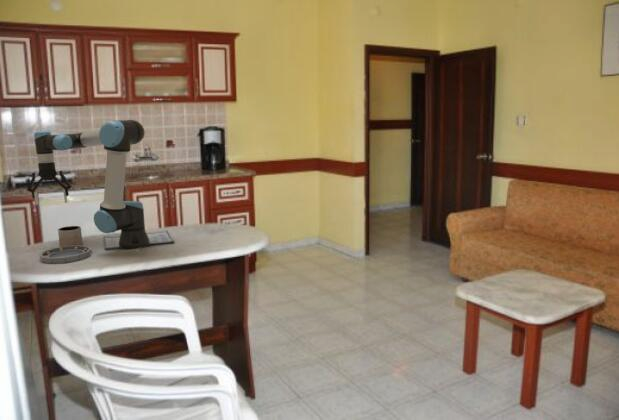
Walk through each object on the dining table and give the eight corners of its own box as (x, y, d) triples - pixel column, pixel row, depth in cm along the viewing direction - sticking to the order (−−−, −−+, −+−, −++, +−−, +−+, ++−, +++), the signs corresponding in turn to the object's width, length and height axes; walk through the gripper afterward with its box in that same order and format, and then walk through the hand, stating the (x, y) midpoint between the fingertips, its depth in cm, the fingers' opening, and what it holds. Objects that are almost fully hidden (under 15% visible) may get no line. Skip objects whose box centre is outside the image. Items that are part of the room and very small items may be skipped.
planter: (74, 249, 262) (72, 231, 260) (55, 248, 264) (52, 230, 262) (87, 243, 272) (85, 226, 270) (68, 243, 274) (66, 225, 272)
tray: (101, 252, 255) (100, 247, 254) (65, 265, 235) (65, 260, 234) (66, 248, 263) (66, 243, 262) (29, 261, 243) (29, 255, 242)
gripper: (74, 159, 268) (79, 200, 272) (20, 162, 262) (26, 204, 266) (71, 161, 261) (76, 202, 265) (16, 164, 255) (22, 206, 259)
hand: (51, 203), depth 266 cm, fingers open, 13 cm apart
